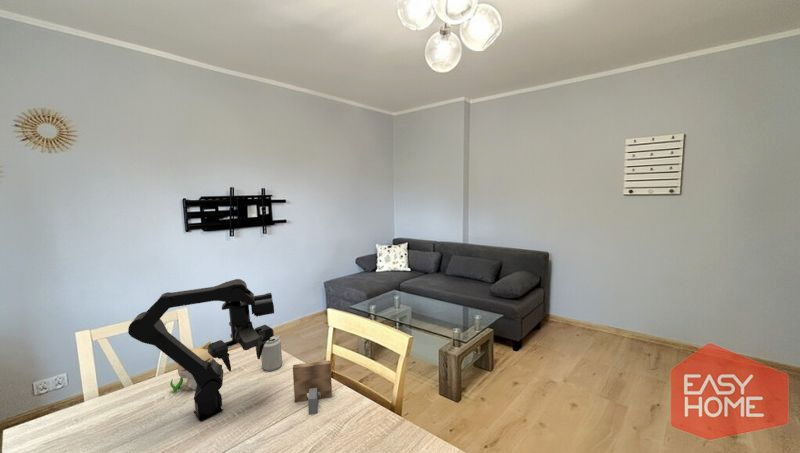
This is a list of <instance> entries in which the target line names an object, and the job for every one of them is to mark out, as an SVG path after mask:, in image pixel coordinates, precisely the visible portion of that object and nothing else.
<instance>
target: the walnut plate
mask: <svg viewBox="0 0 800 453" xmlns="http://www.w3.org/2000/svg"><path fill="white" fill-rule="evenodd" d="M331 364H332V362H331V360H321V361H314V362H306V363H298V364H293V365H292V376H293V377H292V378H293V380H292V381H293V393H294V394H293V395H294V396H293V397H294V403H299V402H306V401H308V394H309V389H311V388H317V392H319V395H320V396H319V397H320V399H327V398H329V399H330V398H333V389H332V388H333V387H332V386H333V385H332V369H331V367H332V365H331Z"/></svg>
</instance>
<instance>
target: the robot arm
mask: <svg viewBox="0 0 800 453" xmlns="http://www.w3.org/2000/svg"><path fill="white" fill-rule="evenodd" d="M208 302H224V303H223V304H222V305H221V310H222V311H223V310H224V311H225V310H228V315H229V322H228V326H229V327H230V332H231V333H230V334H229V335H230V338H231V340H229V341H226V342H224V341H223V339H220V340H217V341H214V342H211V344H209V346H208V353H209V354H210V355H211V356H212V357H213V359H212V360H211V361H210V362H207V361H204V360H202V359H201V358H200V357H198V356H197V355H196V354H195V353H193V352H192V351H191V348H189V347H187V345H185V344H184V343H183V342H181V341H180V340H179V339H178V338H176V336H174V335H173V334H172V333H170V332H169V331H168V329H167V327H166V325H165V324H164V321H162V319H161V318H162V317H163V316H164V315H165V314H166V313H167V311H168V310H169V309H171V308H172V309H173V308H177V307H183V306H189V305H196V304H204V303H208ZM250 307H251V308H250ZM250 309H251V314H252V315H253V316H255V317H257V318H258V317H262V316H266V315H268V316H269V315H272V314H275V305H274V301H273V294H272V292H267V293H264V294H257V295H255V294H254V293H253V292H252V291H251V290H250V289H249V288H248V284H247V283H246V282H245V281H244V280H243V279H240V278H235V279H232V280H228V281H225V282H222V283H220V284H218V285H215V286H210V287H209V286H208V287H202V288H195V289H187V290H181V291H180V290H179V291H174V292H167V291H166V292H164V293H162V294H161V295H159V298H158V299H157V300H156V301H155V302H154V303H153V304H152V305H151V306H150V307H149V308H148V310H146V311H144V312H141V313H139V314H138V315H136V317H135V318H134V319H133V320H132V321H131V323H130V324H129V326H128V329H127V333H128V335H129V336H130V337H131V338H133V339H135V340H136V341H138V342H140V343H143V344H148V345H151V346H154V347H155V348H157V349H158V350H160V351H161V352H162V353H163V354H165V355H166V356H167V357H169V358H170V359H171V360H172V361H173V362H175V363H176V364H177V365H178V364H179V365H180V366H181V367H183V368H184V369H185V370H187V371H188V372H189V373H190V374H192V376H193V378H194V379H195V381H196V383H197V386H196V390H194V391H195V392H194V396H193V401H194V409H195V410H194V411H193V414H194V415H195V417H196V418H197V420H198V421H199V422H201V423H202V422H204V421H205V420H208V419H210V418H211V417H214V416H216V415H218V414H220V413H222V412H223V411H224V409H223V408H222V407H223V397H222V394H221V392H220V390H221V388H222V386H223V383H224V382H223V381H224V369H223V364H220V363H219V362H218V361H216V359H218V360H222V362H223V363H224V365H225V367H226V369H227V370H228V371H229V372H232V366H231V361H230V353H229V348H232V347H235V346H238V345H240V346H241V348H242V350H243V351H249V350H250V349H253V348H255V351H256V353H255V355H256V358H257V359H258V360H260V359H261V354H262V350H263V347H264V344H265V343H266V342H267V341H268V340H270V337H273V336H274V335H275V334H274V333H275V332H274V329H273V328H272V327H271V326H270V325H269V326H268V325H266V324H262V325H260V326H257V327H255V328H254V326H253V322H252V320H251V317H250V316H251V315H250ZM217 362H218V363H219V364H218V363H217Z"/></svg>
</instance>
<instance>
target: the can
mask: <svg viewBox="0 0 800 453" xmlns="http://www.w3.org/2000/svg"><path fill="white" fill-rule="evenodd" d="M260 359H261V368H262V369H263V370H265V371H267V372H271V371H275V370H277V369H279V368H280V367H281V366H282V364H283V355H282V339H281V338H280V336H279V335H277V334H274V336H273V337H270V340H268V341H267V342H266V343H265V344H264V347H263V350H262V354H261V357H260Z"/></svg>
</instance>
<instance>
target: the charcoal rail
mask: <svg viewBox="0 0 800 453" xmlns="http://www.w3.org/2000/svg"><path fill="white" fill-rule="evenodd" d="M319 394H320V392H317V388H311V389H309V393H308V395H307V401H308V402H307V403H308V404H307V406H308V408H307V409H308V415H313V414H317V413H318V406H319V404H318V403H319Z"/></svg>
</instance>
